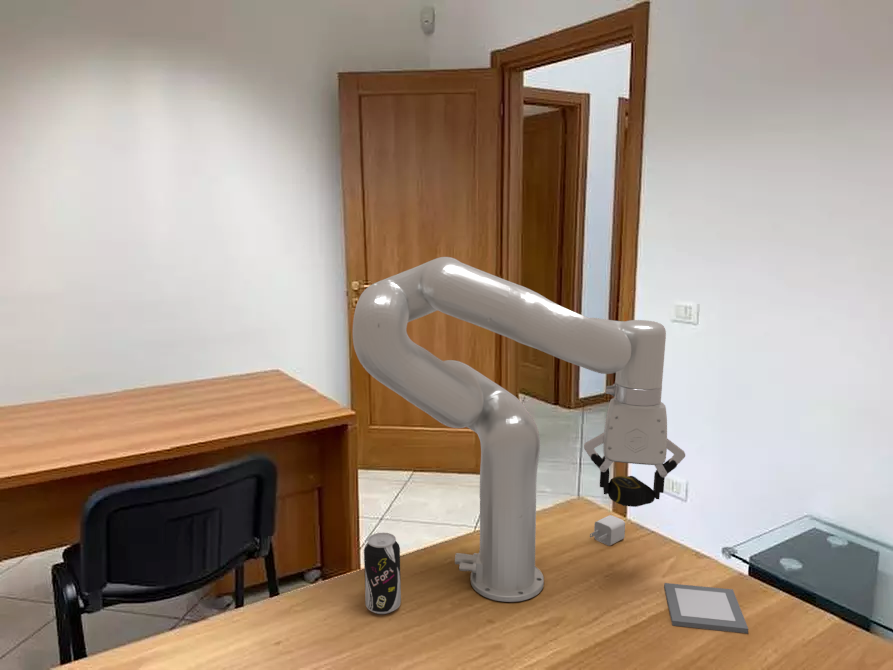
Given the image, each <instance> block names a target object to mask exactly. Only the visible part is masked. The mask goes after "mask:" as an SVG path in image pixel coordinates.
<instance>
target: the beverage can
mask: <svg viewBox="0 0 893 670" xmlns="http://www.w3.org/2000/svg"><path fill="white" fill-rule="evenodd" d="M363 561H364V562H363V566H364V592H365V594H364V595H365V596H364V597H365V600H364V602H365V606H366V608H367V610H368V611H370V612H372V613H374V614H376V615H377V614H378V615H387V614H389V613H392V612H394V611H397V609H398V608H400V606H401V603H402V593H401V587H402V586H401V585H402V583H401V548H400V544H399V542H397V538H396V536H395V535H394V534H392V533H390V532H389V533H388V532H377V533H372V534H371V535H370V536H368V537H367V542H366V544H365V546H364V547H363Z"/></svg>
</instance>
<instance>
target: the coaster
mask: <svg viewBox="0 0 893 670" xmlns="http://www.w3.org/2000/svg"><path fill="white" fill-rule="evenodd" d="M663 584H664V586H663V588H664V594H665V598H666V603H667V608H668V610H669V611H668V612H669V616H670V620H671V625H672V626H673V627H684V628H692V629H702V630H713V631H721V632H730V633H737V634H738V633H741V634H749V627H748V624H747V622H746V620H745V617H744V614H743V611H742V609H741V606H740V604H739V601H738V599H737V596H736V594H735V592H734V589H733V588H721V587H714V586H713V587H712V586H711V587H710V586H700V585H690V584H681V583H680V584H679V583H672V582H671V583H669V582H664V583H663Z"/></svg>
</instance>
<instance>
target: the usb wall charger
mask: <svg viewBox="0 0 893 670" xmlns="http://www.w3.org/2000/svg"><path fill="white" fill-rule="evenodd" d="M593 527H594V528H593V529H594V530H593V532H591V533H589V538H593V537H594V540H595V541H597V542H599V543H602V544H604V545H605V546H609V547H610V546H612V545H614V544H616V543H618V542H619V541H621V540H623V539H625V537H626V536H625V535H626V533H625V532H626V522H625V521H624V520H623V519H622V518H620V517H617V516H614V515H612V514H609V515H607V516H605V517H603V518H601V519H599V520H597V521H595V522H594V526H593Z"/></svg>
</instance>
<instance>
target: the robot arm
mask: <svg viewBox="0 0 893 670" xmlns="http://www.w3.org/2000/svg"><path fill="white" fill-rule="evenodd" d="M437 311H439V312H441V313H443V314H445V315H448V316H450V317H453V318H456V319H458V320H460V321H464V322H466V323H470V324H473V325H475V326H477V327H480V328H482V329H485V330H487V331H490V332H492V333H495V334H498V335H500V336H503V337H505V338H508V339H510V340H513V341H515V342H517V343H519V344H521V345H525V346H527V347H530V348H533V349H535V350H536V349H537V350H538V351H541V352H544V353H546V354H547V355H550V356H552V357H555V358H557V359H559V360H562V361H565V362H567V363H571V364H572V365H575V366H578V367H581V368H583V369H586V370H588V371H591V372H594V373H598V374H603V375H610V374H615V381H614V383H613V384H612V385H606V387H605V394H608V395H610V396H612V397H613V398H611V399H610V401H609V404H608V406H607V407H608V408H607V413H606V417H605V422H604V431H603V432H602V433H600V434H598V435H597V436H595V437H593V438H591V439H590V440H588V441H586V442H585V443H584V444H583V448H584V449H583V450H585V452H586V454H587V455H588V457H589V458H590V460H591V461H592V462H593V464H594V465H595V466H596V467H597V468H598V469H599V471H600V472H599V488H603V495H608V489H609V482H610V467H611V465H612V464H613V463H622V464H632V465H633V464H634V465H635V464H636V465H645V466H646V465H648V466H654V467H655V471H654V476H653V477H654V478H653V489H652V490H653V491H654V492H655V500H660V498H661V497H660V496H661V494H664V492H665V478H666V477H667V476H668V474H670V473H671V472H672V471H673V470H674V469H676V468H677V466H678V464H680V463H681V462H682V461H683V459H685V457H686V453H685V451H684V450H683V449H682V448H680V447H679V446H678V445H677V444H676V443H674V442H672V441H671V440H670V439H669V438H668V418H667V417H668V416H667V415H668V414H667V407H666V405H665V404H664V402H662V391H663V376H664V364H665V351H666V339H667V338H666V337H667V331H666V327H665V326H664V325H663V324H661V323H660V322H658V321H652V320H645V319H644V320H643V319H631V320H626V321H625V320H624V321H623V320H621V321H620V320H612V319H605V318H601V317H599V318H597V317H587V316H585V315H583V314H580V313H578V312H577V311H576V312H575V311H573V310H570V309H568V308H566V307H564V306H562V305H559V304H558V303H555V302H554V301H552V300H550V299H548V298H546V296H544V295H541V294H540V293H538V292H536V291H534V290H532V289H530V288H528V287H525V286H523V285H520V284H517V283H515V282H512V281H509V280H506V279H504V278H501V277H499V276H497V275H494V274H491V273H489V272H486V271H484V270H481V269H478V268H476V267H473V266H471V265H469V264H467V263H463V262H461V261H460V260H458V259H457V258H454V257H450V256H441V257H437V258H434V259H432V260H429V261H427V262H424V263H422V264H420V265H417V266H415V267H412V268H409V269H406V270H405V271H404V270H403V271H402V272H399V273H398V274H393V275H392V276H389V277H387V278H384V279H381V280H379V281H377V282H374V283H372V284H369V286H368V287H366V288H365V289H364V290H363V292H362V293H361V294H360V295H359V298H358V300H357V303H356V306H355V310H354V313H353V320H352V342H353V348H354V352H355V354H356V356H357V359H358V361H359V363H360V365H362V368H363V369H364V370H365V371H366V372H367V373H368V374H369V375H370V376H371V377H372V378H373V379H375V380H376V381H377V382H379V383H381V384H382V385H383V386H385V387H386V388H387V389H389V390H391V391H393V392H394V393H396V394H398V396H400V397H402V398H403V399H404V400H406V401H407V402H408V403H410V404H411V405H413V406H415V407H416V408H418V409H419V410H421V411H423V412H424V413H426V414H428V416H431V418H433V419H435V420H436V421H437V422H439V423H441V424H442V425H444V426H446V427H449V428H454V429H464V428H467V429H469V430H471V431H473V432H475V434H477V436H478V438H479V439H478V440H479V441H480V466H479V467H480V468H479V471H480V472H479V551H478V553H477V552H474V553H473V554H467V553H460V552H456V553H455V556H454V564H455V565H459V567H458V569H459V571H460V572H461V571H462V572H471V573H470V584H471V586H472V588H473V590H475V592H477V593H478V594H479V595H481V596H483V597H485V598H487V599H489V600H491V601H492V600H493V601H495V602H497V601H498V602H505V603H516V602H523V601H526V600H529V599H532V598H534V597H536V596H537V595H538V594H539V593H541V591H542V590H543V588H544V584H545V582H544V579H545V578H544V575H543V572H542V571H541V570H540V568H538V566H536V535H537V533H536V530H537V528H536V526H537V523H536V522H537V478H538V467H539V460H540V459H539V458H540V455H541V437H540V433H539V432H540V431H539V428H538V425H537V422H536V421H535V419H534V417H533V416H532V415H531V414H530V412H529V411H528V409H527V408H526V407H525V405H524V404H523V402H522V401H520V399H519V398H517V396H516V395H514V394H513V393H511V392H509V391H508V390H507V389H506V388H504V387H502V386H501V385H499V384H498V383H496V382H495V381H493V380H491V379H490V378H488V377H486V376H485V375H484V374H482V373H481V372H479V371H477V370H476V369H475V368H473V367H472V366H470V365H468V364H466V363H464V362H462V361H459V360H452V359H449V360H448V359H447V360H442V359H440V358H439V357H437V356H436V355H434V354H433V353H432V352H430V351H429V350H428V349H426V348H425V347H423V346H420V345H419V344H417V343H416V342H414V341H413V340H412V339H411V338H410V337H409V335H408V332H407V327H408V323H409V322H412V321H414V320H419V319H420V318H423V317H425V316H427V315H430V314H432V313H435V312H437ZM602 444H603V445H602ZM601 445H602V447H603V450H602V451H603V456H602V457H601V455H599V453H597V451H596V449H595V448H598V447H599V446H601ZM667 450H668V451H669V452H670V453H672V454H673V455H672V456H671V458H669V459H668V460H666V459H667Z"/></svg>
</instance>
